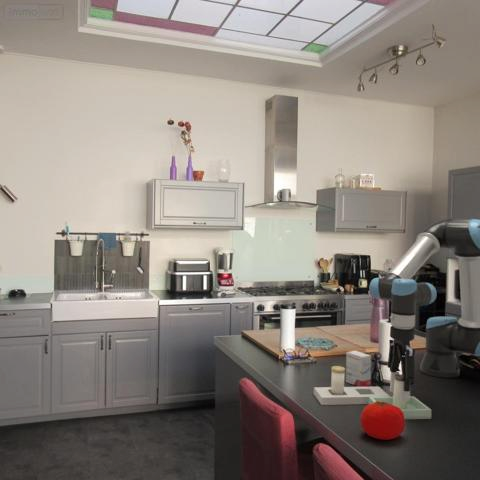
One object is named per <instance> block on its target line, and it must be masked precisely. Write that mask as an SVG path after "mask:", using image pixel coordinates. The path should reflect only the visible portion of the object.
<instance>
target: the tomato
mask: <svg viewBox="0 0 480 480" xmlns="http://www.w3.org/2000/svg"><path fill="white" fill-rule="evenodd" d="M405 420H406V419H404V414H403V412H402V411H401V409H400V408H398V407H397V406H394V405H391V404H389V403H387V402H383V401H379V402H378V401H376V402H375V403H373V404H366V405H365V406H364V408H363V409H362V410H361V415H360V422H361V428H362V429H363V430H364V433H365V434H367V435H368V436H369V437H371V438H373V439H377V440H385V441H386V440H392V439H393V440H394V439H397V438H398V437H400V436H401V434H403V431H404V430H405V425H406V424H405V423H406V421H405Z"/></svg>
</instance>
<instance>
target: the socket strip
mask: <svg viewBox="0 0 480 480" xmlns="http://www.w3.org/2000/svg"><path fill="white" fill-rule="evenodd" d="M330 370H331V381H330V382H331V383H330V386H328V387H327V386H325V387H324V386H323V387H320V386H319V387H318V386H317V387H315V386H314V387H313V396H314V397H315V398H316V400H317V401H318V402H319V403H320V405H321V406H331V405H333V406H334V405H335V406H338V405H369V397H391V395H389V394H388V393H387V392H386V391H384V389H382V387H380V386H368V387H359V386H345V376H346V375H345V374H346V367H344V366H341V365H333V366H331V369H330Z"/></svg>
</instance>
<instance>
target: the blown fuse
mask: <svg viewBox="0 0 480 480" xmlns="http://www.w3.org/2000/svg"><path fill="white" fill-rule="evenodd" d="M401 379H403V376H402V373H401V374H400V373H399V374H396V375H395V382H394V392H392V393H393V395H392V397H393V402H392V405H394V406H397V407H398V408H400V409H406V405H407V401H401V400H400V399H401Z"/></svg>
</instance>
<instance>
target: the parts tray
mask: <svg viewBox="0 0 480 480" xmlns="http://www.w3.org/2000/svg"><path fill="white" fill-rule="evenodd" d="M376 401H378V402H379V401H383V402H387V403H389V404H391V405H392V402H393V396H390V397H369V404H373V403H375V402H376ZM369 404H368V405H369ZM401 411H402V412H403V414H404V419H405V420H426V419H429V420H431V419H432V409H431V408H430V407H428V406H427V405H426V404H424V403H423V402H422V401H420V400H419V399H418V397H417V398H416V396H413V395H412V396H411V395H410V401H407V405H406V409H401Z"/></svg>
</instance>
